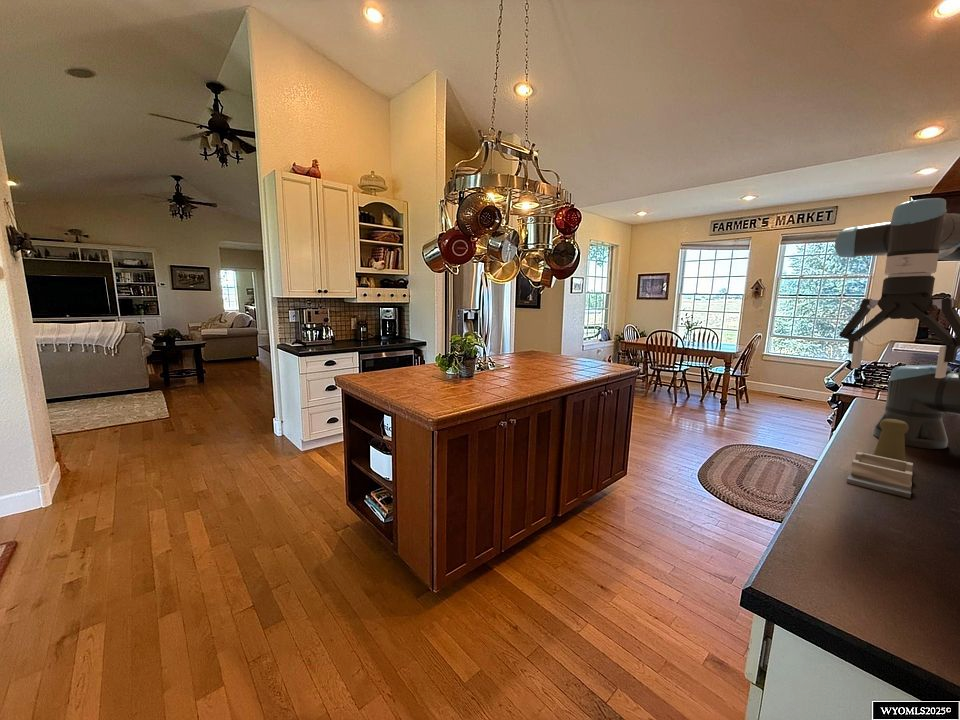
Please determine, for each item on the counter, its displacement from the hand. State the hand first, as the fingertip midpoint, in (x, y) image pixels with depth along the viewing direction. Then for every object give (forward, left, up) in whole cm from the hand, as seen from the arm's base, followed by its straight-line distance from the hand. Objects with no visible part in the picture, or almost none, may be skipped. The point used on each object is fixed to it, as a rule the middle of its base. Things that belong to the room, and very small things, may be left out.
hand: (894, 372), depth 87 cm
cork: (-20, -7, -26) cm, 34 cm away
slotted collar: (-3, -1, -26) cm, 26 cm away
